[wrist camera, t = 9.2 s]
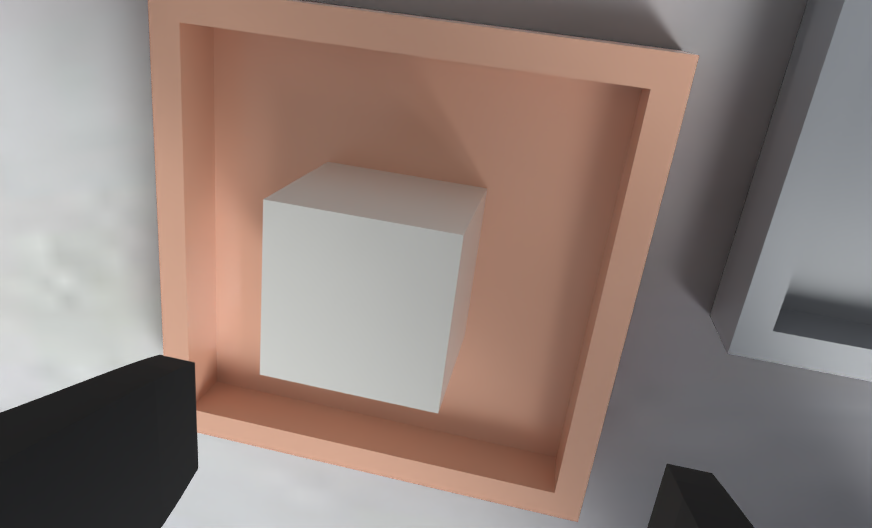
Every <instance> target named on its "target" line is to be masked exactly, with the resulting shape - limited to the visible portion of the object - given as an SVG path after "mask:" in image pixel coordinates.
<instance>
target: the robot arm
mask: <svg viewBox="0 0 872 528" xmlns="http://www.w3.org/2000/svg"><path fill="white" fill-rule="evenodd" d="M197 469H198V446H197V412H196V379H195V362H191V361H186V360H182V359H177V358H172V357H168V356H163V355H157V356H154V357H150V358H147V359H144V360H141V361H138V362H135V363H132V364H129V365H126V366H123V367H121V368H118V369H115V370H112V371H110V372H107V373H104V374H102V375H99V376H96V377H94V378H91V379H89V380H86V381H83V382H81V383H78V384H76V385H73V386H70V387H68V388H65V389H62V390H60V391H57V392H54V393H52V394H49V395H47V396H44V397H41V398H39V399H36V400H33V401H31V402H28V403H26V404H23V405H20V406H18V407H15V408H12V409H9V410H6V411H4V412H1V413H0V528H161V527H162V526H163V524H164V523H165V521H166V520H167V518H168V517H169V515H170V513H171V512H172V510H173V509H174V507H175V506H176V504H177V503H178V501H179V500H180V498H181V496H182V495H183V493H184V491H185V489H186V488H187V486H188V484H189V483H190V481H191V479H192V478H193V476H194V474H195V473H196V471H197ZM648 528H754V527H753V525H752V524H751V523H750V522H749V520H748V519H747V518H746V516H745V515H744V514H743V512H742V511H741V510H740V508H739V507H738V506H737V505H736V503H735V502H734V501H733V499H732V498H731V497H730V495H729V494H728V493H727V492H726V490H725V489H724V488H723V486H722V485H721V484H720V483H719V481H718V480H717V479H716V478H715V476H714V475H713V474H712V473H708V472H703V471H698V470H694V469H689V468H684V467H680V466H675V465H671V464H667V465H666V468H665V472H664V475H663V478H662V482H661V485H660V488H659V492H658V495H657V498H656V501H655V505H654V508H653V511H652V515H651V518H650V521H649V525H648Z"/></svg>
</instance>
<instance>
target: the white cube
mask: <svg viewBox="0 0 872 528" xmlns="http://www.w3.org/2000/svg"><path fill="white" fill-rule="evenodd" d="M486 194H487V188H482V187H476V186H470V185H464V184H458V183H452V182H446V181H440V180H434V179H428V178H422V177H416V176H410V175H404V174H398V173H392V172H386V171H380V170H374V169H368V168H362V167H356V166H350V165H344V164H338V163H332V162H327V163H325V164H323V165H321V166H320V167H318V168H316V169H315V170H313V171H311V172H309V173H308V174H306V175H304V176H303V177H301V178H299V179H297V180H296V181H294V182H292V183H291V184H289V185H287V186H285V187H284V188H282V189H280V190H279V191H277V192H275V193H273V194H272V195H270V196H268V197H267V198H265V199H263V237H262V289H261V341H260V375H264V376H269V377H273V378H278V379H282V380H287V381H292V382H296V383H301V384H305V385H310V386H314V387H319V388H324V389H328V390H333V391H337V392H342V393H346V394H351V395H356V396H360V397H365V398H369V399H374V400H379V401H383V402H388V403H392V404H397V405H401V406H406V407H411V408H415V409H420V410H424V411H429V412H433V413H438V412H439V409H440V407H441V404H442V401H443V398H444V395H445V392H446V389H447V386H448V383H449V380H450V377H451V374H452V371H453V368H454V366H455V363H456V360H457V357H458V354H459V351H460V348H461V345H462V342H463V339H464V336H465V330H466V324H467V317H468V311H469V304H470V298H471V291H472V285H473V278H474V272H475V265H476V259H477V252H478V246H479V239H480V233H481V226H482V220H483V213H484V207H485V200H486Z"/></svg>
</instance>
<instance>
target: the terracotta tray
mask: <svg viewBox="0 0 872 528" xmlns="http://www.w3.org/2000/svg"><path fill="white" fill-rule="evenodd" d="M148 17H149V39H150V62H151V84H152V106H153V129H154V151H155V174H156V196H157V218H158V241H159V263H160V285H161V308H162V330H163V353H164V356H168V357H172V358H177V359H182V360H186V361H191V362H195V379H196V412H197V433H202V434H206V435H210V436H214V437H219V438H223V439H227V440H231V441H236V442H240V443H244V444H248V445H253V446H257V447H261V448H265V449H270V450H274V451H278V452H282V453H287V454H291V455H295V456H299V457H304V458H308V459H312V460H316V461H321V462H325V463H329V464H333V465H338V466H342V467H346V468H350V469H355V470H359V471H363V472H367V473H372V474H376V475H380V476H384V477H389V478H393V479H397V480H401V481H406V482H410V483H414V484H418V485H423V486H427V487H431V488H435V489H440V490H444V491H448V492H452V493H456V494H461V495H465V496H469V497H473V498H478V499H482V500H486V501H490V502H495V503H499V504H503V505H507V506H512V507H516V508H520V509H524V510H529V511H533V512H537V513H541V514H546V515H550V516H554V517H558V518H563V519H567V520H571V521H575V522H578V519H579V515H580V511H581V508H582V504H583V500H584V496H585V492H586V488H587V485H588V481H589V477H590V473H591V469H592V465H593V462H594V458H595V454H596V450H597V446H598V442H599V439H600V435H601V431H602V427H603V423H604V419H605V416H606V412H607V408H608V404H609V400H610V396H611V393H612V389H613V385H614V381H615V377H616V373H617V370H618V366H619V362H620V358H621V354H622V350H623V346H624V343H625V339H626V335H627V331H628V327H629V323H630V320H631V316H632V312H633V308H634V304H635V300H636V297H637V293H638V289H639V285H640V281H641V277H642V274H643V270H644V266H645V262H646V258H647V254H648V251H649V247H650V243H651V239H652V235H653V231H654V228H655V224H656V220H657V216H658V212H659V208H660V205H661V201H662V197H663V193H664V189H665V185H666V182H667V178H668V174H669V170H670V166H671V162H672V159H673V155H674V151H675V147H676V143H677V139H678V135H679V132H680V128H681V124H682V120H683V116H684V112H685V109H686V105H687V101H688V97H689V93H690V89H691V86H692V82H693V78H694V74H695V70H696V66H697V63H698V59H699V55H696V54H692V53H689V52H685V51H681V50H673V49H666V48H658V47H651V46H643V45H636V44H628V43H621V42H613V41H606V40H598V39H591V38H583V37H576V36H568V35H561V34H553V33H545V32H538V31H530V30H523V29H515V28H508V27H500V26H493V25H485V24H478V23H470V22H463V21H455V20H448V19H440V18H433V17H425V16H418V15H410V14H402V13H395V12H387V11H380V10H372V9H365V8H357V7H350V6H342V5H335V4H327V3H320V2H312V1H305V0H148ZM327 162H332V163H338V164H344V165H350V166H356V167H362V168H368V169H374V170H380V171H386V172H392V173H398V174H404V175H410V176H416V177H422V178H428V179H434V180H440V181H446V182H452V183H458V184H464V185H470V186H476V187H482V188H487V194H486V200H485V207H484V213H483V220H482V226H481V233H480V239H479V246H478V252H477V259H476V265H475V272H474V278H473V285H472V291H471V298H470V304H469V311H468V317H467V324H466V330H465V336H464V339H463V342H462V345H461V348H460V351H459V354H458V357H457V360H456V363H455V366H454V368H453V371H452V374H451V377H450V380H449V383H448V386H447V389H446V392H445V395H444V398H443V401H442V404H441V407H440V409H439V412H438V413H433V412H429V411H424V410H420V409H415V408H411V407H406V406H401V405H397V404H392V403H388V402H383V401H379V400H374V399H369V398H365V397H360V396H356V395H351V394H346V393H342V392H337V391H333V390H328V389H324V388H319V387H314V386H310V385H305V384H301V383H296V382H292V381H287V380H282V379H278V378H273V377H269V376H264V375H260V341H261V289H262V237H263V199H265V198H267V197H268V196H270V195H272V194H273V193H275V192H277V191H279V190H280V189H282V188H284V187H285V186H287V185H289V184H291V183H292V182H294V181H296V180H297V179H299V178H301V177H303V176H304V175H306V174H308V173H309V172H311V171H313V170H315V169H316V168H318V167H320V166H321V165H323V164H325V163H327Z"/></svg>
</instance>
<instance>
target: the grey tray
mask: <svg viewBox="0 0 872 528" xmlns="http://www.w3.org/2000/svg"><path fill="white" fill-rule="evenodd" d="M710 317H711V319H712V321H713V323H714V326H715V328H716V330H717V332H718V334H719V336H720V339H721V341H722V343H723V345H724V347H725V349H726V352H727V354H731V355H736V356H741V357H746V358H751V359H757V360H762V361H767V362H772V363H777V364H782V365H787V366H793V367H798V368H803V369H808V370H813V371H818V372H824V373H829V374H834V375H839V376H844V377H849V378H855V379H860V380H865V381H870V382H872V0H808V2H807V5H806V8H805V12H804V15H803V18H802V21H801V25H800V28H799V31H798V34H797V37H796V41H795V44H794V47H793V50H792V53H791V57H790V60H789V63H788V66H787V69H786V73H785V76H784V79H783V82H782V86H781V89H780V92H779V95H778V98H777V102H776V105H775V108H774V111H773V114H772V118H771V121H770V124H769V127H768V130H767V134H766V137H765V140H764V143H763V147H762V150H761V153H760V156H759V159H758V163H757V166H756V169H755V172H754V175H753V179H752V182H751V185H750V188H749V191H748V195H747V198H746V201H745V204H744V207H743V211H742V214H741V217H740V220H739V224H738V227H737V230H736V233H735V236H734V240H733V243H732V246H731V249H730V252H729V256H728V259H727V262H726V265H725V268H724V272H723V275H722V278H721V281H720V285H719V288H718V291H717V294H716V297H715V301H714V304H713V307H712V310H711V313H710Z"/></svg>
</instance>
